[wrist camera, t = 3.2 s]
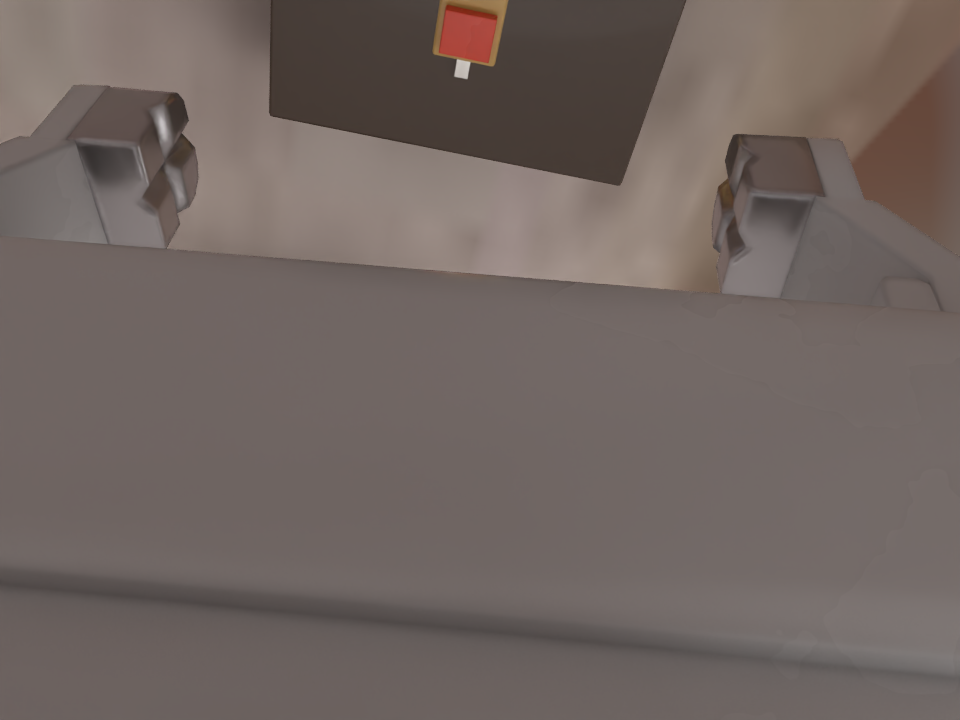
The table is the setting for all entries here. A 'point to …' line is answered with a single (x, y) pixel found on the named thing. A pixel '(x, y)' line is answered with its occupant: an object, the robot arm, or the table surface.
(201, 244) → the table surface
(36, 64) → the table surface
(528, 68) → the lock plate
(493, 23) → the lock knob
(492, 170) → the table surface
